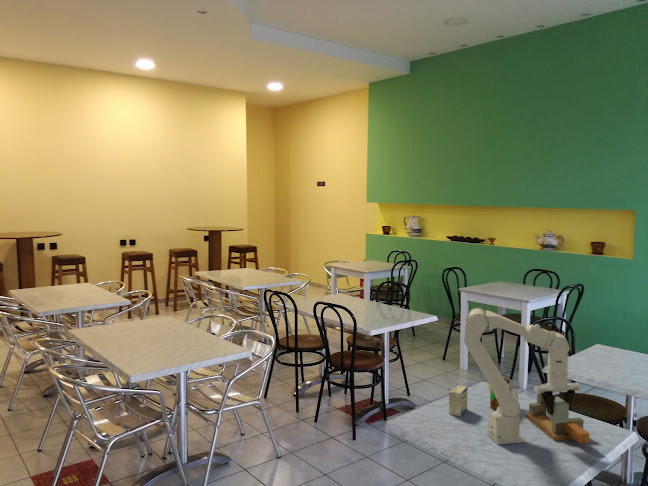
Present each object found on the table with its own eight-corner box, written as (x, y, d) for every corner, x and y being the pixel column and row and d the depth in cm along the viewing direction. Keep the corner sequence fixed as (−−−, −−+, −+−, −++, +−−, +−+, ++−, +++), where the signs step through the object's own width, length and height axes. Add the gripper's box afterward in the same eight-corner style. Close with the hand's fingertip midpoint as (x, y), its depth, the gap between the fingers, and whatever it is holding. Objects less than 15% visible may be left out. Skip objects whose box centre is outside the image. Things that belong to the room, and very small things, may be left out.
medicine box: (460, 417, 187) (460, 393, 186) (448, 414, 189) (448, 391, 188) (467, 409, 193) (467, 386, 192) (455, 406, 196) (456, 384, 195)
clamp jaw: (570, 445, 162) (570, 433, 161) (551, 431, 171) (552, 419, 171) (599, 443, 163) (599, 431, 163) (579, 428, 173) (579, 417, 172)
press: (553, 440, 169) (555, 411, 168) (524, 416, 186) (525, 390, 185) (587, 438, 170) (589, 408, 169) (555, 414, 188) (556, 388, 187)
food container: (493, 399, 202) (493, 374, 201) (509, 403, 199) (509, 377, 198) (482, 410, 192) (483, 384, 191) (499, 414, 189) (500, 387, 188)
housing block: (556, 423, 162) (556, 404, 161) (546, 415, 168) (546, 397, 167) (568, 422, 162) (568, 403, 162) (557, 414, 168) (558, 396, 168)
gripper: (542, 378, 159) (542, 420, 160) (586, 374, 161) (585, 416, 162) (530, 370, 166) (530, 411, 167) (572, 367, 168) (572, 407, 169)
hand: (556, 413), depth 165 cm, fingers closed on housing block, 4 cm apart
